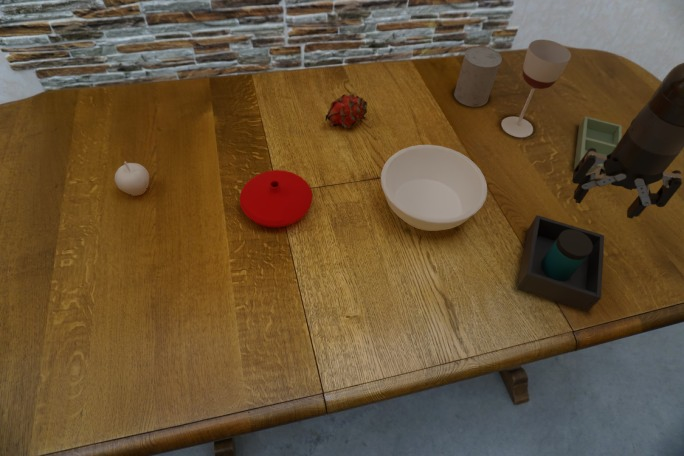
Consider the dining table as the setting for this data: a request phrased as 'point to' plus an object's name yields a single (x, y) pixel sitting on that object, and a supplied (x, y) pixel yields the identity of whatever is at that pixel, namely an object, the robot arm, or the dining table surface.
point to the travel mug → (566, 254)
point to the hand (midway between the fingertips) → (603, 207)
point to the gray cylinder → (477, 76)
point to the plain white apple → (132, 178)
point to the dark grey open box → (571, 292)
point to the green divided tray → (596, 138)
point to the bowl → (433, 187)
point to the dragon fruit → (347, 111)
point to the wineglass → (538, 78)
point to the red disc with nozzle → (276, 198)
